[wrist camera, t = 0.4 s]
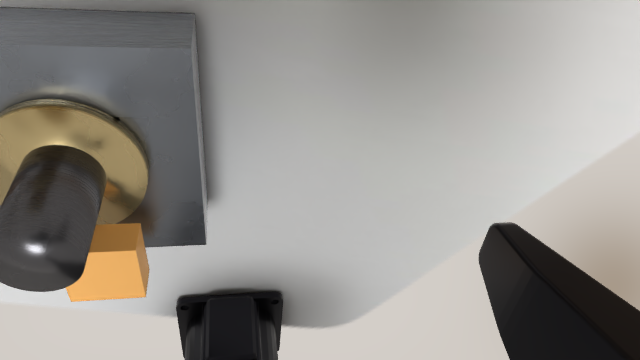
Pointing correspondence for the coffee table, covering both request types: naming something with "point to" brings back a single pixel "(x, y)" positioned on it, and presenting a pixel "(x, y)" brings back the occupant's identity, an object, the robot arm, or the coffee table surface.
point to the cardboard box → (113, 265)
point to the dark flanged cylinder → (62, 188)
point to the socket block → (122, 96)
